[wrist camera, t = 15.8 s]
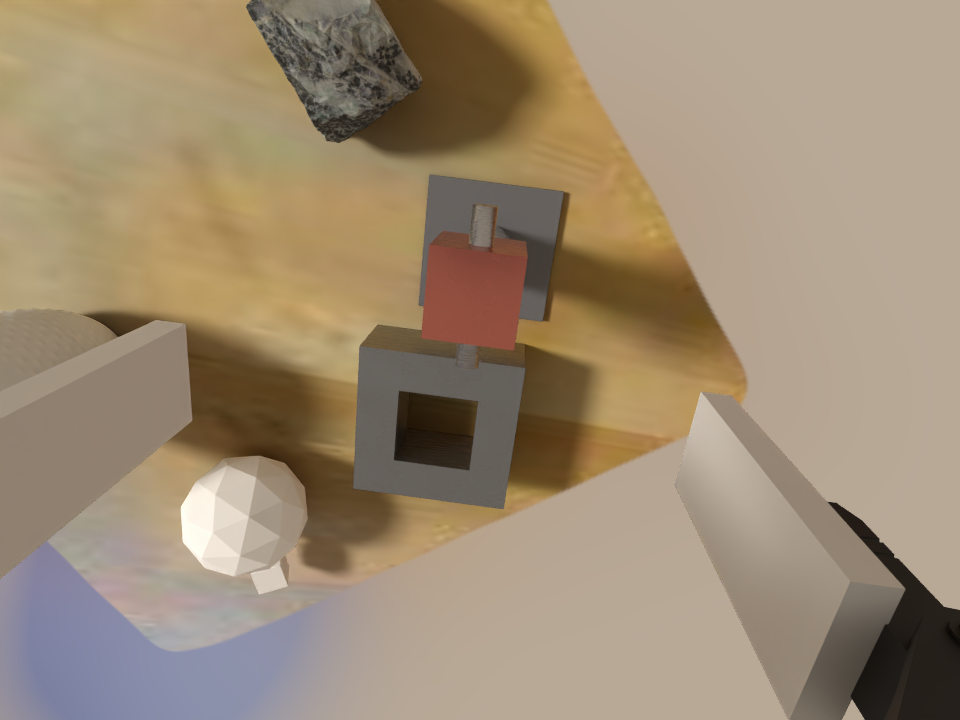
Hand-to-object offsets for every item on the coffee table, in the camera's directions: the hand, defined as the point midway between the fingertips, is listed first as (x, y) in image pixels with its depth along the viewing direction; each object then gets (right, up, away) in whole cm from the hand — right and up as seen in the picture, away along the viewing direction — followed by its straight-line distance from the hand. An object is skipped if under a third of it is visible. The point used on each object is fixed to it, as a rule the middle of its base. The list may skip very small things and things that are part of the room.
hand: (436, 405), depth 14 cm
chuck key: (+2, +9, +24) cm, 26 cm away
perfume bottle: (-17, -10, +33) cm, 39 cm away
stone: (-7, +20, +21) cm, 30 cm away
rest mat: (+2, +9, +25) cm, 26 cm away
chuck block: (-2, -2, +29) cm, 29 cm away
